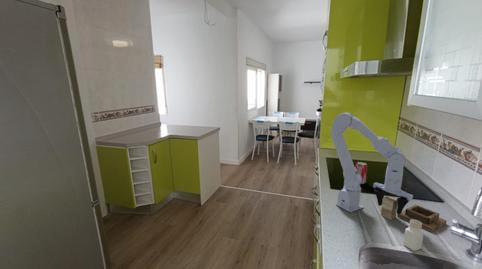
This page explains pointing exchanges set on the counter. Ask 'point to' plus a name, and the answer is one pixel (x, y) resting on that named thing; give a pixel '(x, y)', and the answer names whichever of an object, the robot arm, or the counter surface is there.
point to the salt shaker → (413, 235)
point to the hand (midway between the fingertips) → (389, 208)
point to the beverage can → (362, 171)
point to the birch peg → (389, 207)
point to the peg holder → (423, 217)
